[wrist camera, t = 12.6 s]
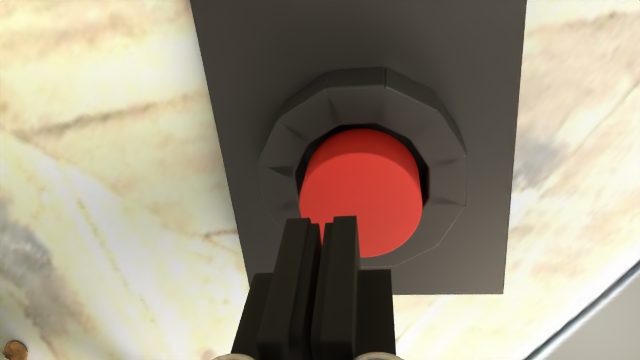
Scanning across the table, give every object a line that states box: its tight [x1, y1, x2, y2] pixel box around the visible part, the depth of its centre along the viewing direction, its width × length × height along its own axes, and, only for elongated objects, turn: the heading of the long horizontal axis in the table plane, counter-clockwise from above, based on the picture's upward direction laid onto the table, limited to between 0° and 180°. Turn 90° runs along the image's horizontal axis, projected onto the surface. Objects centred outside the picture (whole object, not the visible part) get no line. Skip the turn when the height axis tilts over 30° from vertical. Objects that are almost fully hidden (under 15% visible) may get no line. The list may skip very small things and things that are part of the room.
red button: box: [299, 129, 422, 257], centre depth 16 cm, size 4×4×2 cm
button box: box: [190, 0, 527, 295], centre depth 18 cm, size 12×10×4 cm
